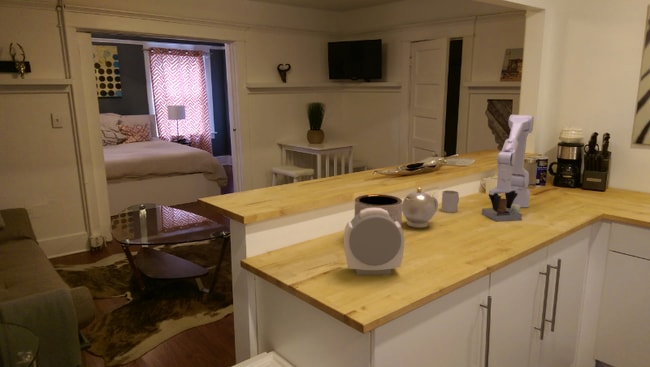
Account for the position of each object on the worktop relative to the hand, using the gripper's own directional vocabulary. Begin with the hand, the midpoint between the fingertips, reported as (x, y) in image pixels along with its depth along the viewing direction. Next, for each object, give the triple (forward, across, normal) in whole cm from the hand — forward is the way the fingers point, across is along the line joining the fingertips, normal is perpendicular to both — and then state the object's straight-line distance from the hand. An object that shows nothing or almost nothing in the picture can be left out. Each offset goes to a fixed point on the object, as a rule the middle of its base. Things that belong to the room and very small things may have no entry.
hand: (501, 209), depth 196 cm
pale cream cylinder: (+4, -10, -2) cm, 11 cm away
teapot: (+4, +40, -4) cm, 41 cm away
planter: (+4, +66, +4) cm, 66 cm away
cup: (+4, +13, -18) cm, 22 cm away
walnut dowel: (+4, 0, 0) cm, 4 cm away
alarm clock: (+4, +82, +29) cm, 87 cm away
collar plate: (+4, 0, 0) cm, 4 cm away
